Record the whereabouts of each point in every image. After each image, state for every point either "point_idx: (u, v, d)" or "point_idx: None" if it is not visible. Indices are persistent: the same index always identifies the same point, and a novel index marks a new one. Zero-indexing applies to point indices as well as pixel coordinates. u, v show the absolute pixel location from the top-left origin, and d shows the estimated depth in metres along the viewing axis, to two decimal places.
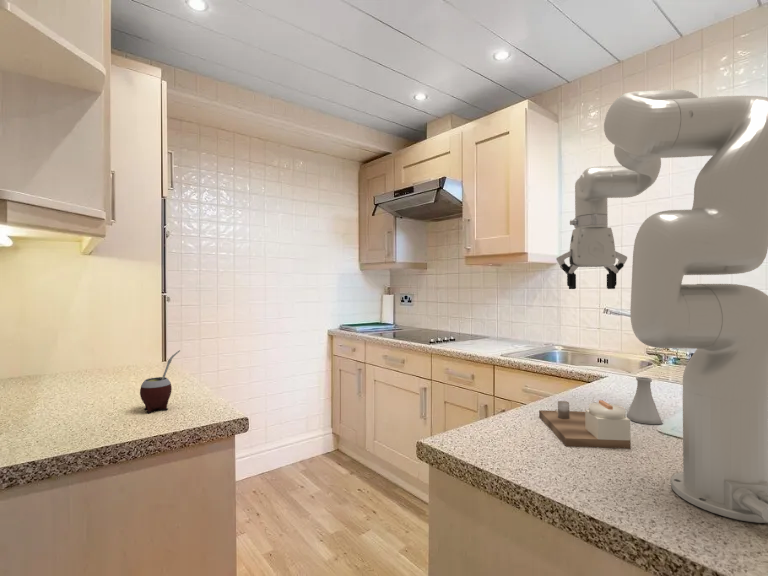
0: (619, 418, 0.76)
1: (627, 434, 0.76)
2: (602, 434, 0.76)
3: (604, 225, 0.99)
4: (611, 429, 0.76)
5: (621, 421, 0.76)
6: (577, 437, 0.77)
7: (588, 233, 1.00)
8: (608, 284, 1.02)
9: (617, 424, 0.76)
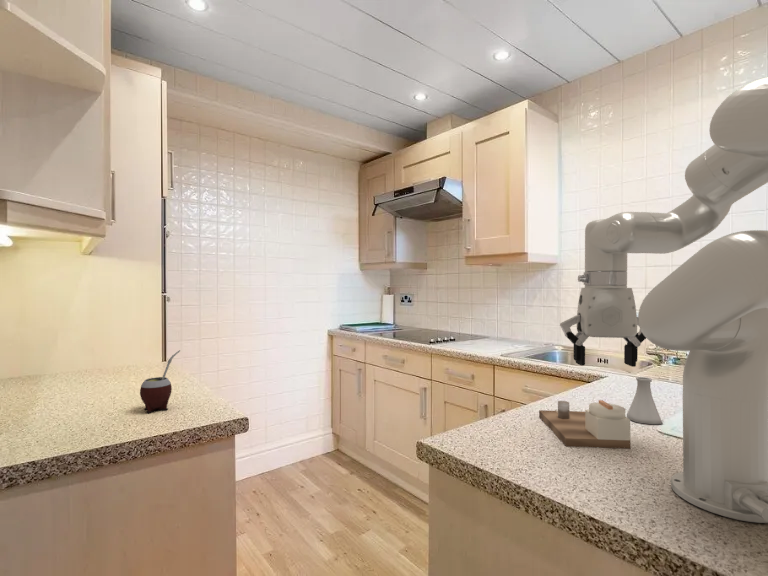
0: (619, 418, 0.76)
1: (627, 434, 0.76)
2: (602, 434, 0.76)
3: (623, 285, 0.76)
4: (611, 429, 0.76)
5: (621, 421, 0.76)
6: (577, 437, 0.77)
7: (602, 295, 0.77)
8: (626, 359, 0.79)
9: (617, 424, 0.76)
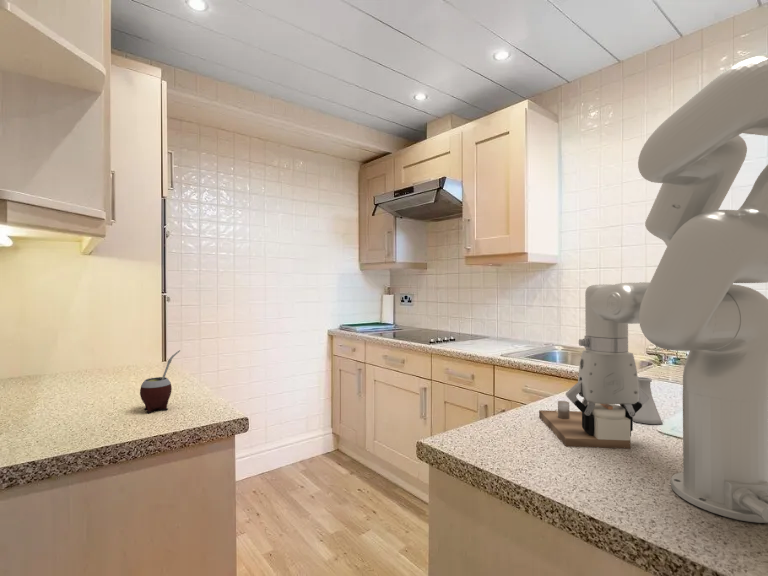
0: (619, 418, 0.76)
1: (627, 434, 0.76)
2: (602, 434, 0.76)
3: (624, 352, 0.76)
4: (611, 429, 0.76)
5: (621, 421, 0.76)
6: (577, 437, 0.77)
7: (603, 361, 0.76)
8: None
9: (617, 424, 0.76)
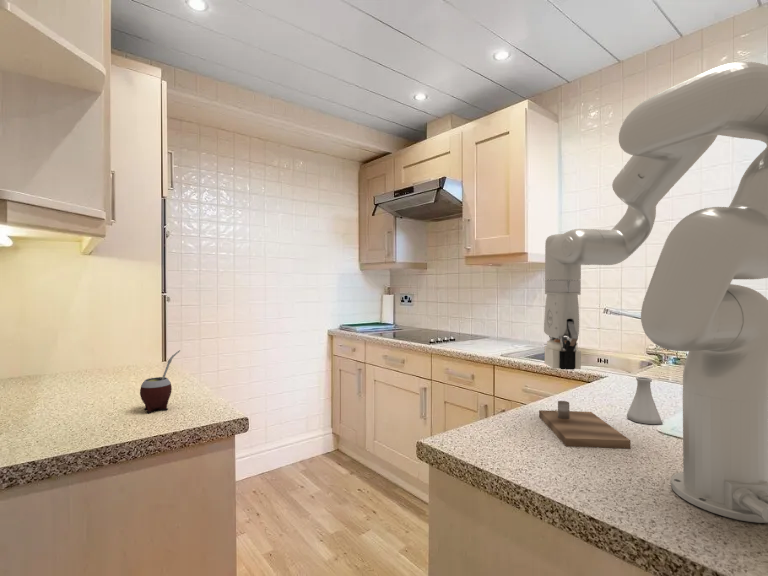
0: (549, 348, 0.89)
1: (551, 362, 0.88)
2: (545, 359, 0.92)
3: (550, 292, 0.88)
4: (547, 356, 0.91)
5: (550, 351, 0.89)
6: (577, 437, 0.77)
7: (547, 300, 0.92)
8: None
9: (549, 353, 0.90)
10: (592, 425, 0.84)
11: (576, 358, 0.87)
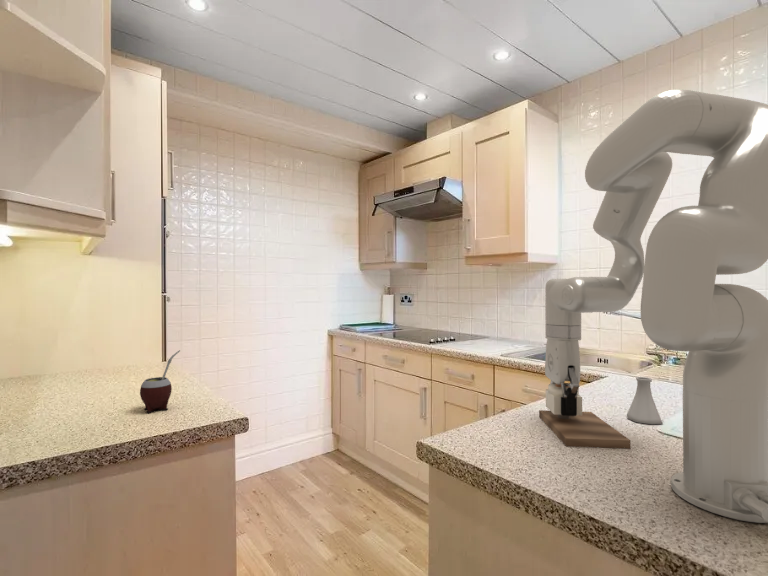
0: (551, 393, 0.89)
1: (553, 408, 0.87)
2: (546, 403, 0.92)
3: (551, 337, 0.88)
4: (549, 400, 0.90)
5: (551, 396, 0.88)
6: (577, 437, 0.77)
7: (548, 343, 0.92)
8: None
9: (550, 397, 0.89)
10: (592, 425, 0.84)
11: (577, 404, 0.86)
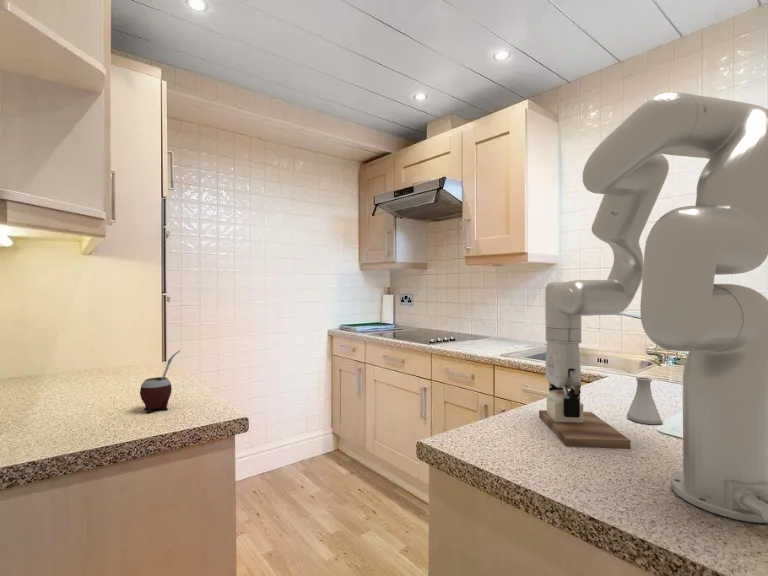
0: (551, 400, 0.88)
1: (554, 415, 0.87)
2: (547, 409, 0.92)
3: (551, 340, 0.88)
4: (549, 407, 0.90)
5: (552, 403, 0.88)
6: (577, 437, 0.77)
7: (548, 346, 0.91)
8: None
9: (551, 404, 0.89)
10: (592, 425, 0.84)
11: None
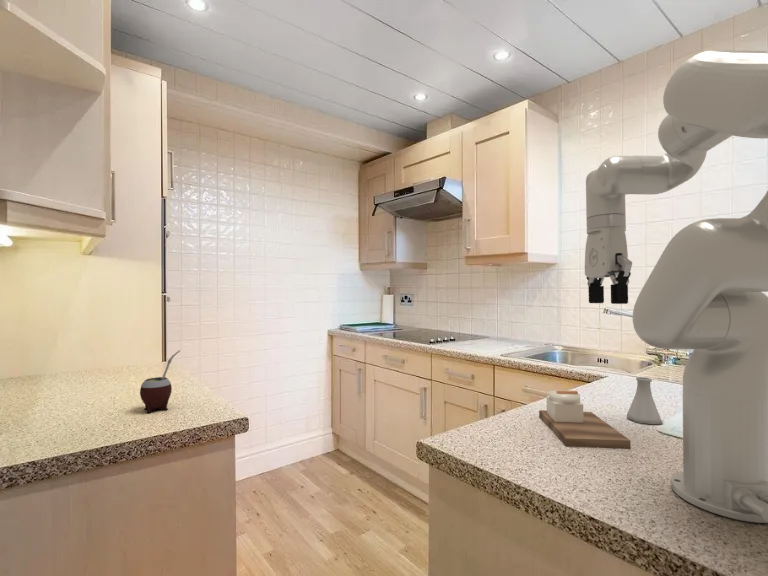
0: (551, 400, 0.88)
1: (554, 415, 0.87)
2: (547, 409, 0.92)
3: (595, 228, 0.84)
4: (549, 407, 0.90)
5: (552, 403, 0.88)
6: (577, 437, 0.77)
7: (589, 240, 0.88)
8: None
9: (551, 404, 0.89)
10: (592, 425, 0.84)
11: (578, 411, 0.86)
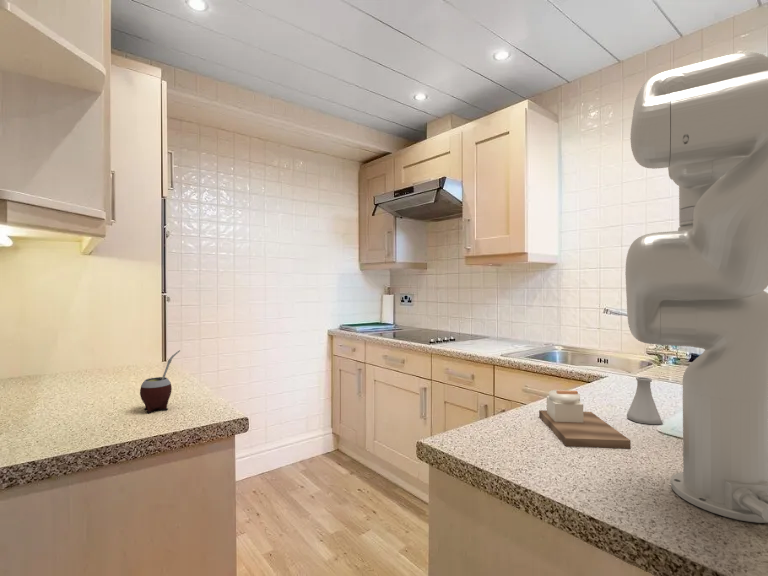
0: (551, 400, 0.88)
1: (554, 415, 0.87)
2: (547, 409, 0.92)
3: (692, 220, 0.77)
4: (549, 407, 0.90)
5: (552, 403, 0.88)
6: (577, 437, 0.77)
7: None
8: None
9: (551, 404, 0.89)
10: (592, 425, 0.84)
11: (578, 411, 0.86)
